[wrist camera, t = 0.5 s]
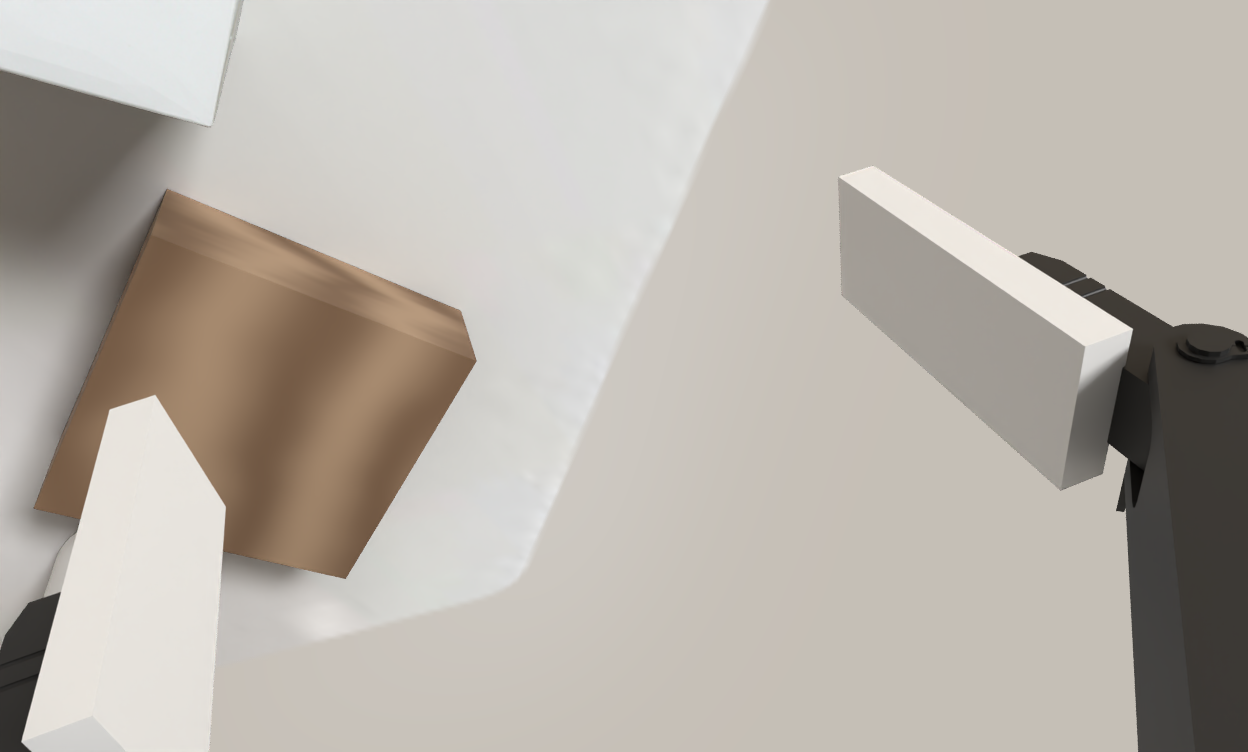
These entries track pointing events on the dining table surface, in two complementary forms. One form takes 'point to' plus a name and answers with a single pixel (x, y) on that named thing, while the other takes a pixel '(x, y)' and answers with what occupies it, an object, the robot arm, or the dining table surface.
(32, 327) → the dining table surface
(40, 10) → the supplement box
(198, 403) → the walnut block
